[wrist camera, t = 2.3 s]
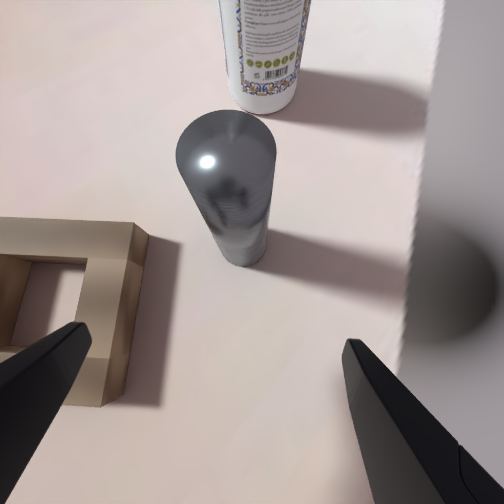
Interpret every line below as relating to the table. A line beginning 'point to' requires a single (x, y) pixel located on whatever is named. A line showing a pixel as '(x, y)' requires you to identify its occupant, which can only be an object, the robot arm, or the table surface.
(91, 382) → the holder block
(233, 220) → the grey metal cylinder
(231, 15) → the bath foam
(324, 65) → the table surface
